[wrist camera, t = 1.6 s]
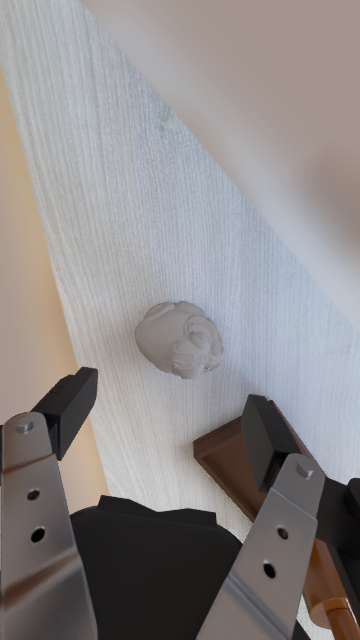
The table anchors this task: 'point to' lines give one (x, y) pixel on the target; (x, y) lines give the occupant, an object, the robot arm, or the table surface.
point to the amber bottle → (328, 596)
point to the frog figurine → (179, 339)
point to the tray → (235, 464)
